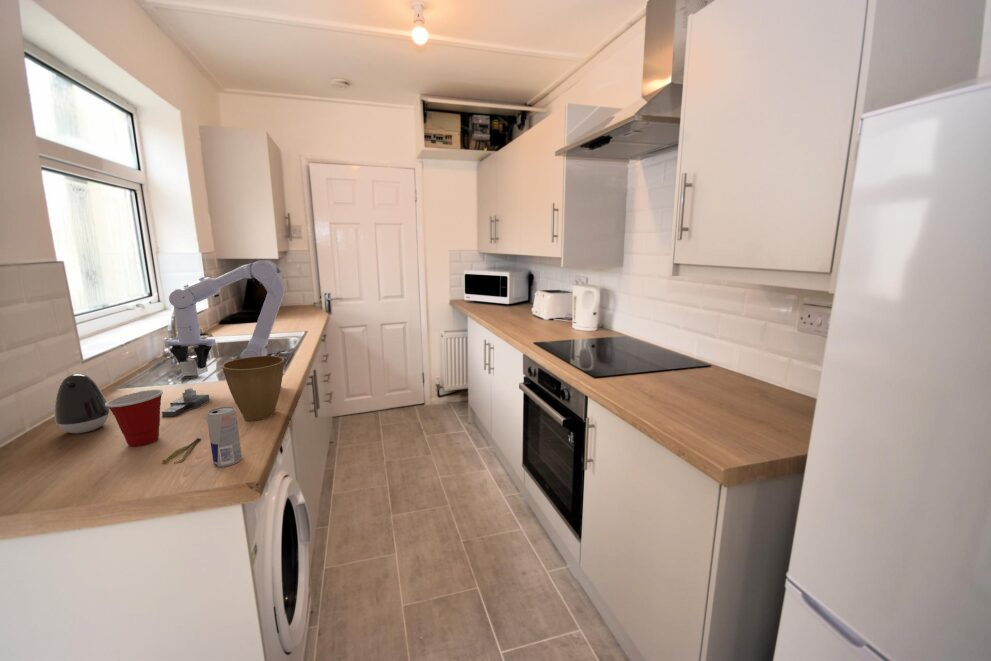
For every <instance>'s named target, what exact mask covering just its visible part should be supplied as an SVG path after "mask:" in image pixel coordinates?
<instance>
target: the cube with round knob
mask: <svg viewBox="0 0 991 661" xmlns="http://www.w3.org/2000/svg"><path fill="white" fill-rule="evenodd" d="M207 362H208V361H207ZM207 362H206V367H204V368H200V367H199V363H198V358H197V355H192V356H189V357H186V360H184V361H181V362H180V364H179V366H180V368H181V372H180V373H181V377H183V376H194V375H199V376H200V375H202V374H205V373H207V372H208V371H209V369H208V363H207Z"/></svg>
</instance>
